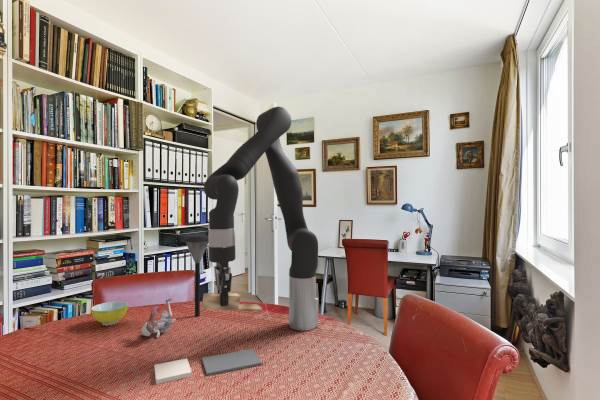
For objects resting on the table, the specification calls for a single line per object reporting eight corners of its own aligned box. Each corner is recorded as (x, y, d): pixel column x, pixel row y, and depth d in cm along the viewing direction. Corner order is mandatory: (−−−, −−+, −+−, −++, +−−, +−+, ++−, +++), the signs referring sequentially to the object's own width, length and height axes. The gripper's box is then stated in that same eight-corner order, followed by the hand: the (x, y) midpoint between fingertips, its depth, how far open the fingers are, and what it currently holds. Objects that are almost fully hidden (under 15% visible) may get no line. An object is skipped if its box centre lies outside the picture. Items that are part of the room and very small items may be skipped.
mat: (252, 350, 96) (252, 348, 96) (261, 364, 88) (261, 362, 88) (202, 359, 90) (202, 357, 90) (206, 375, 82) (206, 373, 82)
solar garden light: (189, 310, 132) (189, 234, 132) (219, 311, 130) (219, 234, 131) (173, 320, 120) (173, 237, 120) (206, 322, 118) (206, 237, 119)
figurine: (178, 337, 113) (152, 348, 99) (156, 329, 115) (127, 340, 100) (188, 303, 115) (163, 309, 100) (165, 296, 116) (138, 302, 102)
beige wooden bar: (257, 305, 103) (258, 292, 104) (262, 310, 99) (263, 296, 99) (201, 306, 96) (203, 292, 97) (204, 311, 92) (205, 296, 92)
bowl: (127, 315, 125) (127, 299, 125) (129, 325, 115) (129, 307, 115) (91, 321, 119) (91, 304, 119) (90, 332, 109) (90, 313, 110)
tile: (187, 358, 89) (154, 364, 85) (191, 372, 82) (156, 379, 78) (187, 364, 89) (154, 371, 85) (191, 378, 82) (156, 386, 78)
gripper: (204, 242, 101) (205, 299, 101) (213, 248, 89) (214, 313, 89) (229, 240, 105) (230, 296, 104) (241, 246, 92) (242, 309, 92)
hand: (223, 303), depth 97 cm, fingers closed on beige wooden bar, 3 cm apart
